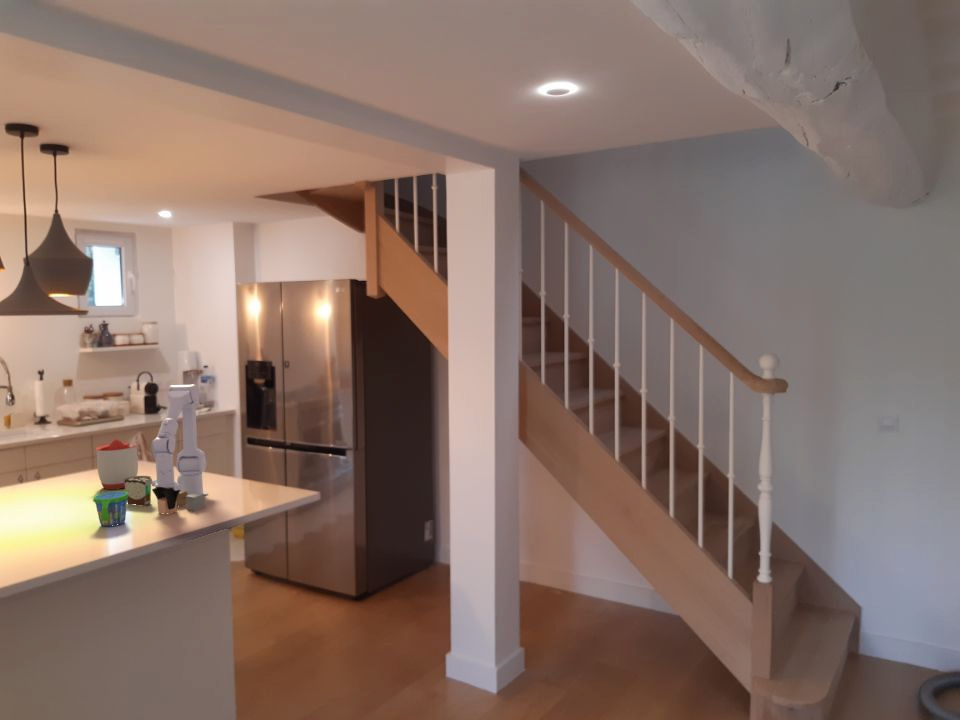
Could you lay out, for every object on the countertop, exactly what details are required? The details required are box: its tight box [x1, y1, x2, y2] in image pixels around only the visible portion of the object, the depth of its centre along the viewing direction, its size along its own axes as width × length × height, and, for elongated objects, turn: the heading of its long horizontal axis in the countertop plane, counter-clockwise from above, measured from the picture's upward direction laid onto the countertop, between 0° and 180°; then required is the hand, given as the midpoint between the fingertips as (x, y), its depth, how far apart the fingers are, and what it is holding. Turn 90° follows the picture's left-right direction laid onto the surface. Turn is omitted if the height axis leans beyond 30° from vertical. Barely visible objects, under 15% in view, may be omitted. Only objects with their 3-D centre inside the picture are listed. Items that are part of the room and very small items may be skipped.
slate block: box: [185, 493, 206, 512], centre depth 266 cm, size 4×4×5 cm
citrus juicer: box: [95, 438, 141, 490], centre depth 305 cm, size 16×17×20 cm
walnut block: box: [176, 490, 188, 508], centre depth 272 cm, size 4×4×5 cm
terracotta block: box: [156, 497, 178, 515], centre depth 262 cm, size 4×4×5 cm
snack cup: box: [92, 490, 128, 527], centre depth 250 cm, size 16×10×10 cm
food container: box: [123, 475, 153, 507], centre depth 276 cm, size 12×6×10 cm, turn 65°
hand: (167, 507), depth 263 cm, fingers closed on terracotta block, 4 cm apart
